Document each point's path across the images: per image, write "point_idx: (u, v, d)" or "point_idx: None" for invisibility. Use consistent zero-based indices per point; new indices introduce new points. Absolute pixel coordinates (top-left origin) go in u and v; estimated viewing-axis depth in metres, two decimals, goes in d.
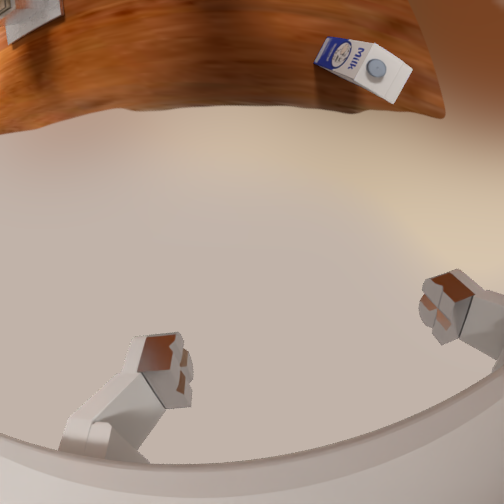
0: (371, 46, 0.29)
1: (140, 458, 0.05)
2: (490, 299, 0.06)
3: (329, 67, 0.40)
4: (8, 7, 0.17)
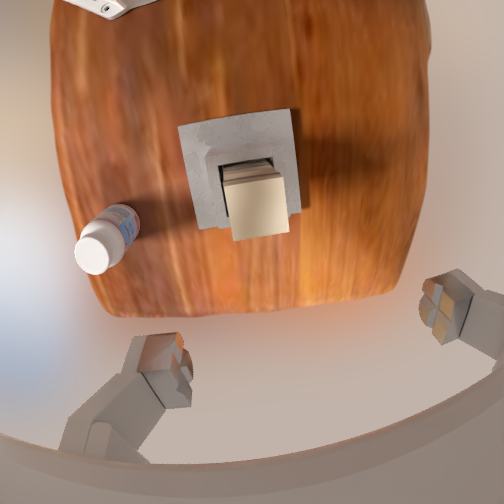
0: None
1: (140, 458, 0.05)
2: (490, 299, 0.06)
3: None
4: None
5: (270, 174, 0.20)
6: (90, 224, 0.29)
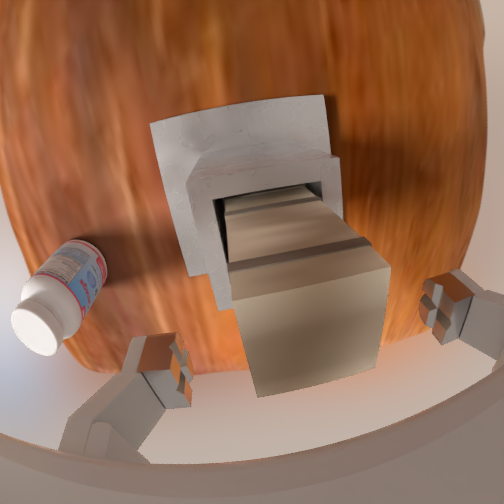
0: None
1: (140, 458, 0.05)
2: (490, 299, 0.06)
3: None
4: None
5: (348, 247, 0.08)
6: (29, 282, 0.17)
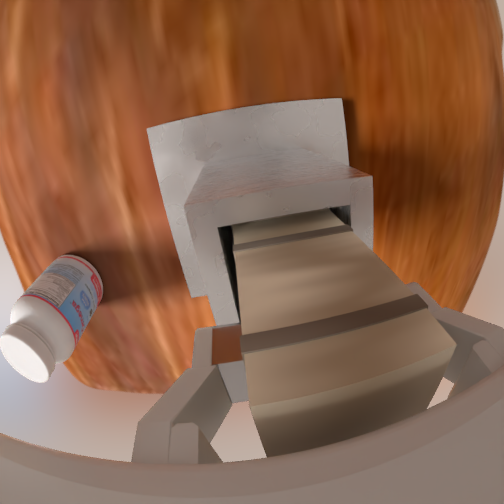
0: None
1: (217, 458, 0.05)
2: (446, 319, 0.06)
3: None
4: None
5: (400, 312, 0.05)
6: (18, 304, 0.15)
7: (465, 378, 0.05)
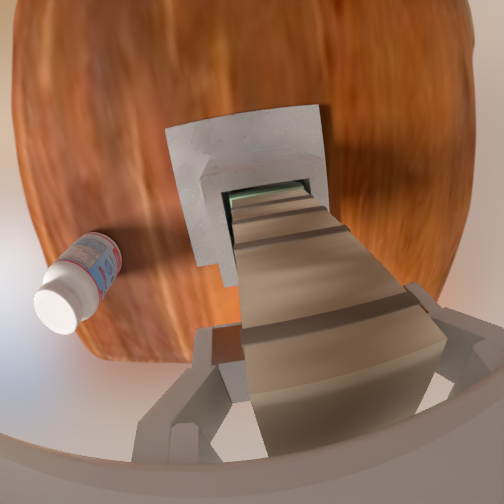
0: None
1: (217, 458, 0.05)
2: (446, 319, 0.06)
3: None
4: None
5: (393, 308, 0.06)
6: (52, 267, 0.20)
7: (465, 378, 0.05)
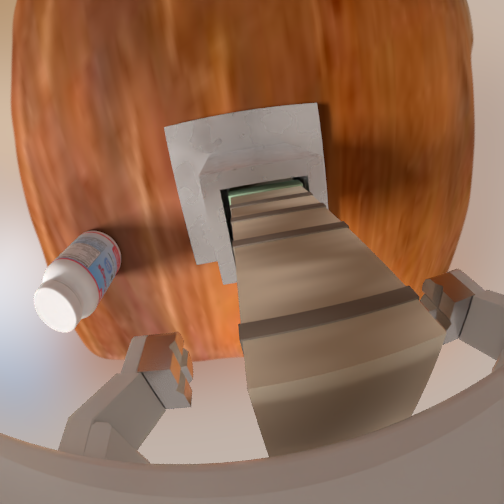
0: None
1: (140, 458, 0.05)
2: (490, 299, 0.06)
3: None
4: None
5: (392, 302, 0.06)
6: (52, 265, 0.20)
7: None
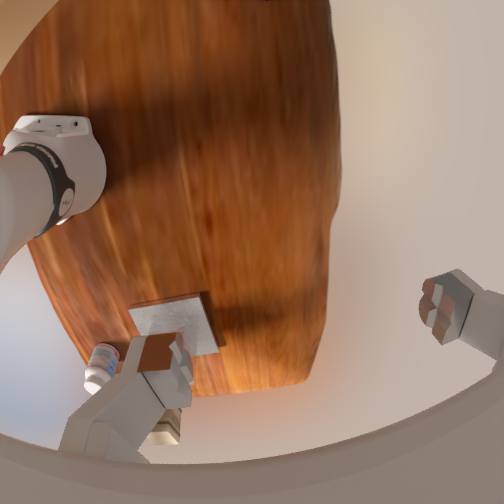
0: None
1: (140, 458, 0.05)
2: (490, 299, 0.06)
3: None
4: None
5: (164, 423, 0.32)
6: (89, 369, 0.46)
7: None
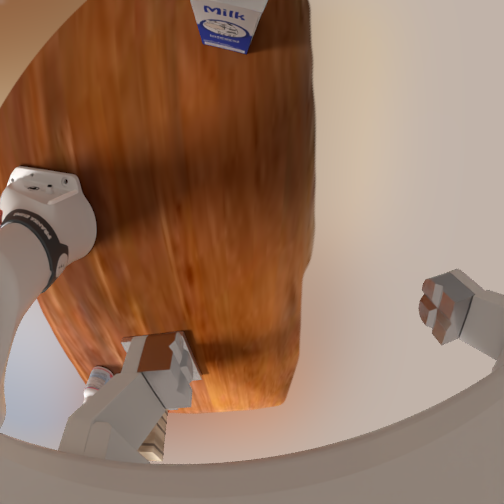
0: None
1: (140, 458, 0.05)
2: (490, 299, 0.06)
3: (248, 39, 0.27)
4: None
5: (150, 445, 0.36)
6: (87, 390, 0.51)
7: None
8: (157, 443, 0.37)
